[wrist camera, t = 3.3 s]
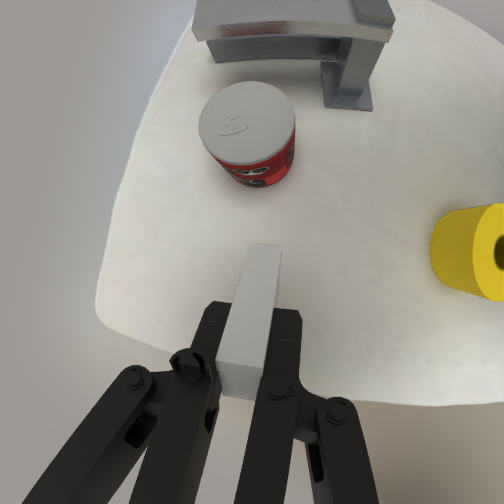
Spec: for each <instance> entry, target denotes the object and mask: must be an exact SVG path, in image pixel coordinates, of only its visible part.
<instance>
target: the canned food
mask: <svg viewBox="0 0 504 504" xmlns="http://www.w3.org/2000/svg"><path fill="white" fill-rule="evenodd" d="M199 135H200V137H201V140H202V142H203V144H204V146H205V148H206V149H207V151H208V152H209V153H210V154H211V155H212V156H213V157H214V158H215V159H216V160H217V161H218V162H219V163H220V164H221V165H222V167H223V168H224V169H225V170H226V171H227V172H228V173H229V174H230V175H231V176H232V177H233V178H234V179H235V180H237V181H238V182H240V183H241V184H244V185H246V186H251V187H263V186H268V185H271V184H273V183H275V182H277V181H278V180H280V179H281V178H282V177H283V176H285V175H286V173H287V172H288V171H289V169H290V167H291V165H292V162H293V158H294V142H295V114H294V110H293V106H292V104H291V102H290V100H289V99H288V97H287V96H286V95H285V94H284V93H283V92H282V91H281V90H279V89H278V88H276V87H274V86H272V85H270V84H267V83H263V82H257V81H245V82H239V83H235V84H232V85H230V86H227V87H225V88H224V89H222V90H220V91H219V92H217V93H216V94H215V95H214V96H213V97H212V98H211V99H210V100H209V101H208V102H207V103H206V105H205V107H204V108H203V110H202V113H201V115H200V118H199Z"/></svg>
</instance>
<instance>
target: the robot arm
mask: <svg viewBox="0 0 504 504" xmlns="http://www.w3.org/2000/svg"><path fill="white" fill-rule="evenodd" d="M281 254H282V246H280V245H270V244H260V243H251V244H250V247H249V250H248V254H247V257H246V260H245V263H244V267H243V270H242V273H241V277H240V280H239V283H238V286H237V290H236V293H235V296H234V300H233V303H225V302H218V301H213V302H212V303H211V304H210V305H209V306H208V307H207V308H206V309H205V311H204V313H203V316H202V318H201V321H200V324H199V326H198V329H197V331H196V334H195V337H194V339H193V342H192V345H191V347H190V348H186V349H183V350H179V351H178V352H176V353H175V354H174V355H173V356H172V357H171V359H170V360H169V361H170V363H171V366H172V368H173V370H170V371H162V372H150V371H149V370H147V369H146V368H145V367H142V366H140V365H132V366H129V367H127V368H125V369H124V370H123V371H122V372H121V373H120V374H119V375H118V377H117V378H116V379H115V380H114V382H113V383H112V384H111V385H110V387H109V388H108V389H107V391H106V392H105V393H104V394H103V395H102V397H101V398H100V399H99V401H98V402H97V403H96V405H95V406H94V407H93V408H92V409H91V411H90V412H89V413H88V415H87V416H86V417H85V419H84V420H83V421H82V423H81V424H80V425H79V426H78V428H77V429H76V430H75V432H74V433H73V434H72V435H71V437H70V438H69V439H68V441H67V442H66V443H65V445H64V446H63V447H62V449H61V450H60V451H59V453H58V454H57V455H56V457H55V458H54V460H53V461H52V462H51V463H50V465H49V466H48V468H47V469H46V471H45V472H44V473H43V474H42V476H41V477H40V479H39V480H38V481H37V483H36V484H35V485H34V487H33V488H32V490H31V491H30V492H29V494H28V495H27V497H26V498H25V500H24V501H23V502H22V504H107V503H108V502H109V501H110V499H111V498H112V496H113V495H114V493H115V492H116V491H117V489H118V488H119V487H120V485H121V484H122V482H123V481H124V479H125V478H126V477H127V475H128V474H129V472H130V471H131V469H132V468H133V467H134V465H135V463H136V462H137V461H138V459H139V458H140V456H141V455H142V453H143V452H144V451H145V449H146V448H147V446H148V448H147V450H146V453H145V456H144V459H143V462H142V465H141V468H140V471H139V474H138V477H137V480H136V483H135V486H134V489H133V492H132V495H131V498H130V501H129V504H194V503H195V499H196V496H197V491H198V488H199V484H200V481H201V477H202V473H203V469H204V466H205V462H206V458H207V454H208V450H209V447H210V442H211V439H212V435H213V431H214V427H215V424H216V420H217V416H218V412H219V399H220V395H221V391H222V395H224V396H230V397H235V398H242V399H248V400H255V406H254V411H253V416H252V421H251V426H250V431H249V436H248V441H247V446H246V451H245V455H244V460H243V465H242V469H241V474H240V478H239V482H238V487H237V491H236V495H235V500H234V504H284V498H285V492H286V486H287V480H288V474H289V466H290V460H291V453H292V446H293V438H295V439H297V440H300V441H302V442H305V448H306V454H307V461H308V467H309V473H310V479H311V486H312V492H313V498H314V504H379V501H378V497H377V491H376V487H375V482H374V478H373V473H372V469H371V465H370V460H369V456H368V452H367V448H366V444H365V440H364V436H363V432H362V428H361V425H360V421H359V417H358V413H357V410H356V409H355V406H354V404H353V403H351V402H350V401H349V400H348V399H345V398H342V397H332V398H329V399H325V398H322V397H319V396H317V395H314V394H312V393H310V392H308V391H307V390H306V389H305V388H304V387H303V386H302V384H301V382H300V379H299V365H300V352H301V338H302V322H303V320H302V318H301V316H300V314H299V311H298V310H290V309H280V308H276V303H277V296H278V289H279V278H280V266H281Z"/></svg>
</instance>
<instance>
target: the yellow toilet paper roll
mask: <svg viewBox="0 0 504 504" xmlns="http://www.w3.org/2000/svg"><path fill="white" fill-rule="evenodd" d="M430 259H431V264H432V267H433V270H434V272H435V274H436V276H437V277H438V279H439V280H440V281H441V282H442V283H443V284H445V285H447V286H449V287H452V288H455V289H458V290H461V291H464V292H467V293H470V294H473V295H477V296H480V297H483V298H486V299H489V300H492V301H495V302H501V301H504V203H498V204H492V205H486V206H480V207H474V208H468V209H462V210H456V211H451V212H449V213H447V214H445V215H444V216H443V217H442V218H441V219H440V220H439V221H438V223H437V224H436V226H435V228H434V230H433V233H432V236H431V241H430Z"/></svg>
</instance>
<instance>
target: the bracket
mask: <svg viewBox="0 0 504 504" xmlns="http://www.w3.org/2000/svg"><path fill="white" fill-rule="evenodd" d="M395 20H396V19H395V17H394V14H393V12H392V10H391V7H390V5H389V3H388V1H387V0H198V1H197V5H196V10H195V15H194V20H193V25H192V32H193V34H194V36H195V38H196V39H197V41H198V42H199V41H205V40H207V42H206V43H207V45H208V47H209V49H210V51H211V54H212V56H213V58H214V60H215V62H216V63H222V62H231V61H242V60H257V59H324V60H336V62H322V61H321V64H320V65H321V73H322V82H323V91H324V101H325V108H338V109H352V110H362V111H372V110H373V105H372V99H371V93H370V87H369V82H368V80H369V78H370V75H371V73H372V71H373V69H374V67H375V65H376V62H377V60H378V58H379V56H380V54H381V51H382V49H383V47H384V45H385V42H386V43H388V42H389V40H390V38H391V36H392V33H393V29H392V26H393V24H394V22H395Z"/></svg>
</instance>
